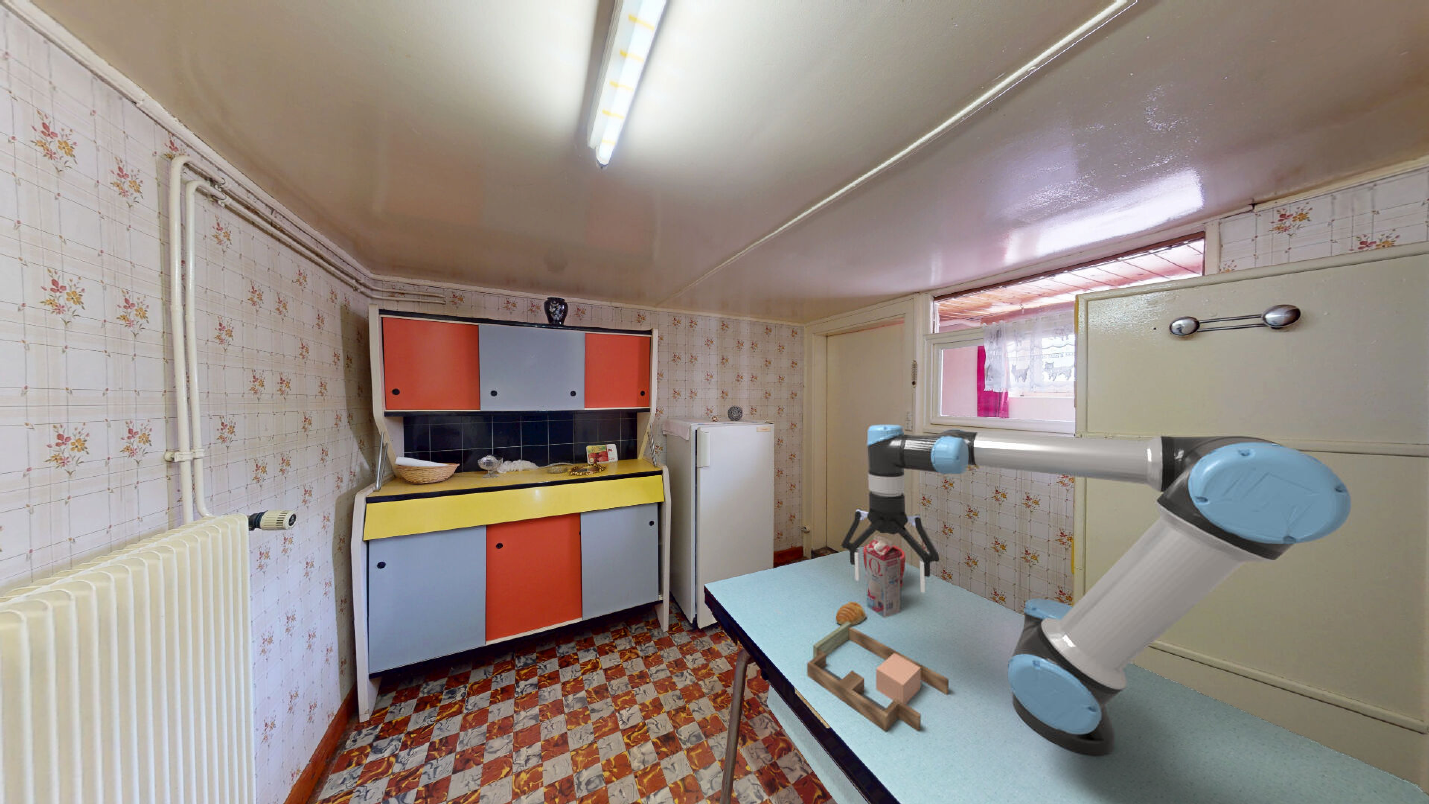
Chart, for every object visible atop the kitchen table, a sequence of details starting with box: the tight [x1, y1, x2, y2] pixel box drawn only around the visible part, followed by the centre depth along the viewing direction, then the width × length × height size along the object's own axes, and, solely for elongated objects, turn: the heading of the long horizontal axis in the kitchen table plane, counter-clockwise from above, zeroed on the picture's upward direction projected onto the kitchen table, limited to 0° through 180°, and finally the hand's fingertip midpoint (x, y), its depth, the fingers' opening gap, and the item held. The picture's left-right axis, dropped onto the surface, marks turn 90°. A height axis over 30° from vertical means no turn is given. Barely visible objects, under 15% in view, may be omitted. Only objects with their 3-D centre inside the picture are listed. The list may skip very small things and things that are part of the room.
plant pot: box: [862, 543, 906, 589], centre depth 130 cm, size 13×13×12 cm
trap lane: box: [806, 622, 950, 733], centre depth 87 cm, size 25×20×4 cm
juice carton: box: [866, 533, 901, 618], centre depth 115 cm, size 7×7×22 cm
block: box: [875, 653, 922, 705], centre depth 85 cm, size 6×8×5 cm
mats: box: [821, 666, 887, 711], centre depth 84 cm, size 17×4×1 cm, turn 39°
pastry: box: [835, 601, 867, 627], centre depth 111 cm, size 9×7×4 cm
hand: (889, 583), depth 87 cm, fingers open, 13 cm apart
